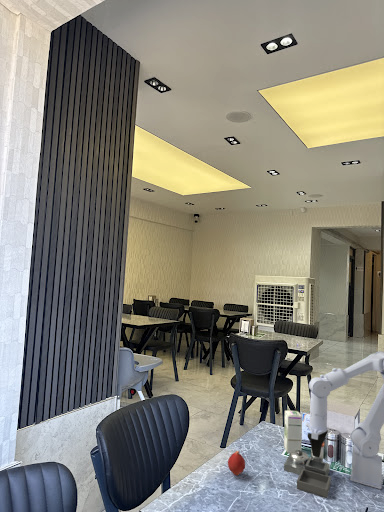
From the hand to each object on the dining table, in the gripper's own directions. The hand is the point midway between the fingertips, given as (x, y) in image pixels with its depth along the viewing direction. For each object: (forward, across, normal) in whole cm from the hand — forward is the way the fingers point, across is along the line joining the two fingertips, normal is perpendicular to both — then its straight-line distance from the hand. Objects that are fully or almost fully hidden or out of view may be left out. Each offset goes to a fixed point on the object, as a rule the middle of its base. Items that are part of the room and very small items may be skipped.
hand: (317, 453), depth 125 cm
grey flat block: (+7, -2, -4) cm, 8 cm away
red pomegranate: (+7, +16, -24) cm, 30 cm away
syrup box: (+7, -14, -12) cm, 20 cm away
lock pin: (+2, 0, 0) cm, 2 cm away
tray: (+7, +8, 0) cm, 11 cm away
